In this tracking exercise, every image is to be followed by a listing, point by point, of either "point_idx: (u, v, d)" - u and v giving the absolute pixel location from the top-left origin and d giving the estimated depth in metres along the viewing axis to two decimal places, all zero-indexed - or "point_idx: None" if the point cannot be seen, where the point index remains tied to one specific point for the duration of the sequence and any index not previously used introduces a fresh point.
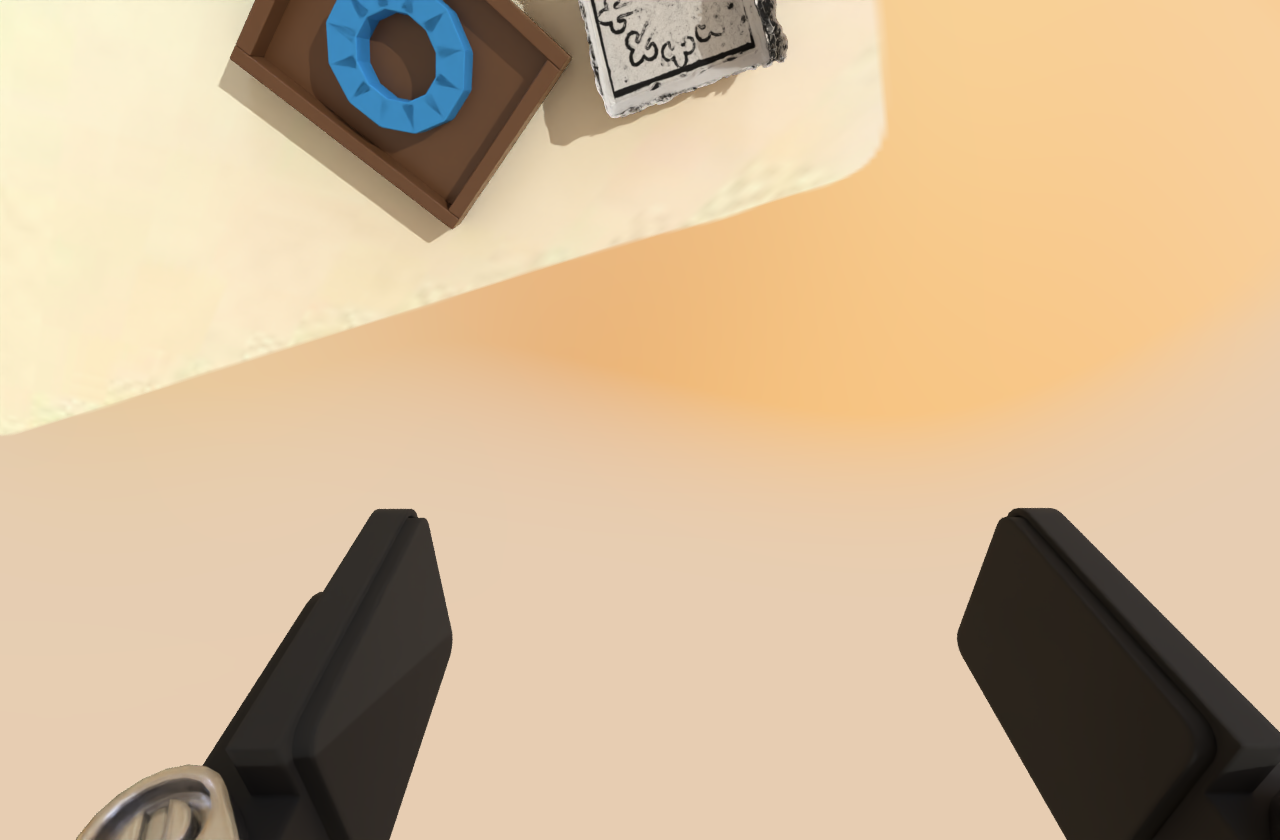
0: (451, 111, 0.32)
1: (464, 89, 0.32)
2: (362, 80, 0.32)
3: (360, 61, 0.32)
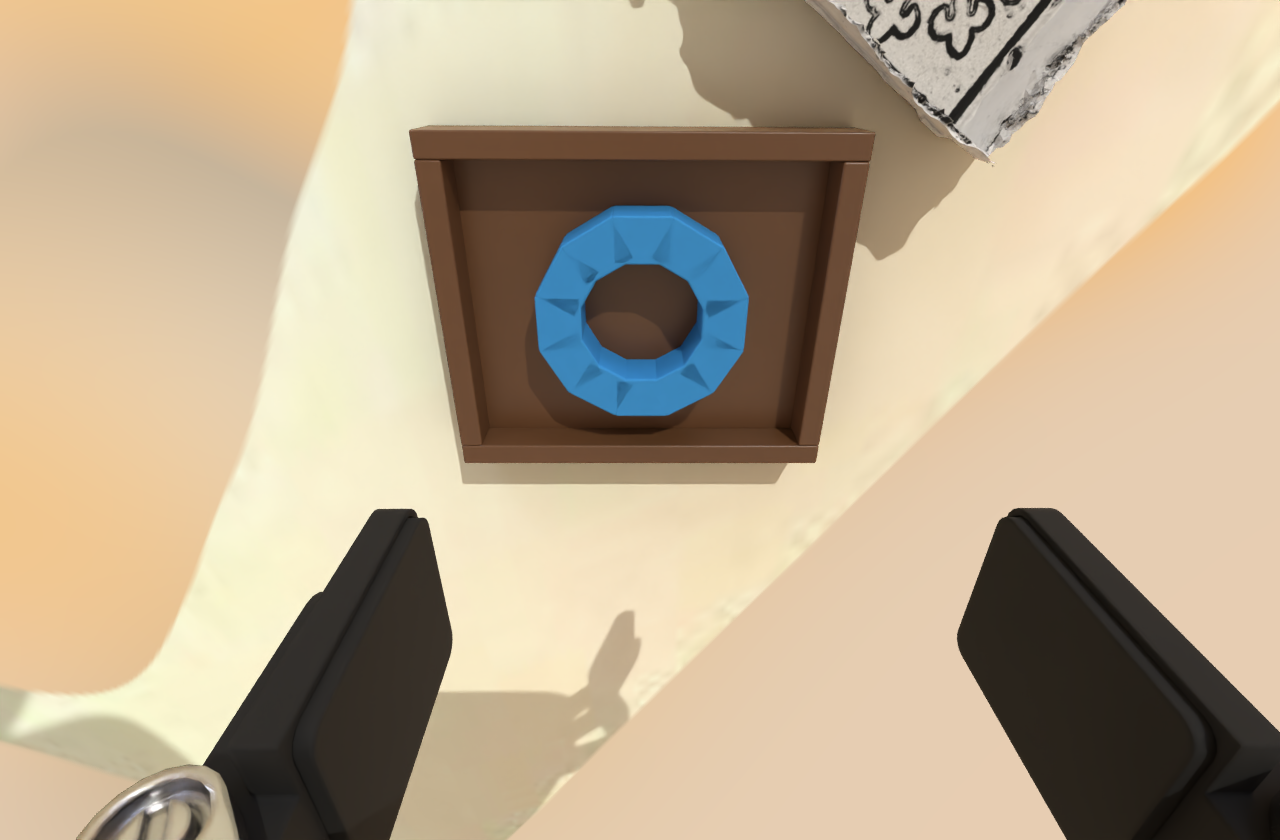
0: (744, 333, 0.20)
1: (747, 294, 0.20)
2: (617, 381, 0.21)
3: (600, 360, 0.21)
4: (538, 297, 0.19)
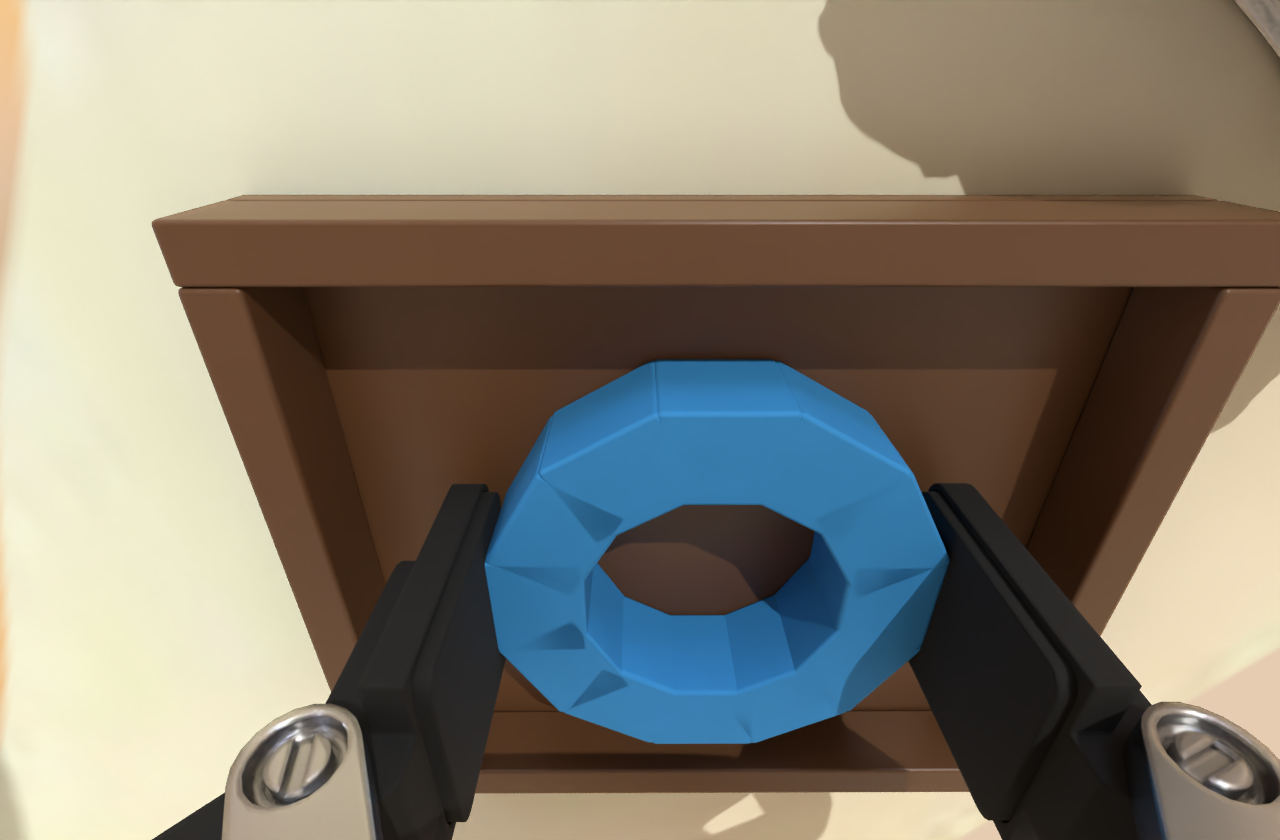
0: None
1: None
2: (658, 696, 0.10)
3: (622, 652, 0.10)
4: (491, 564, 0.09)
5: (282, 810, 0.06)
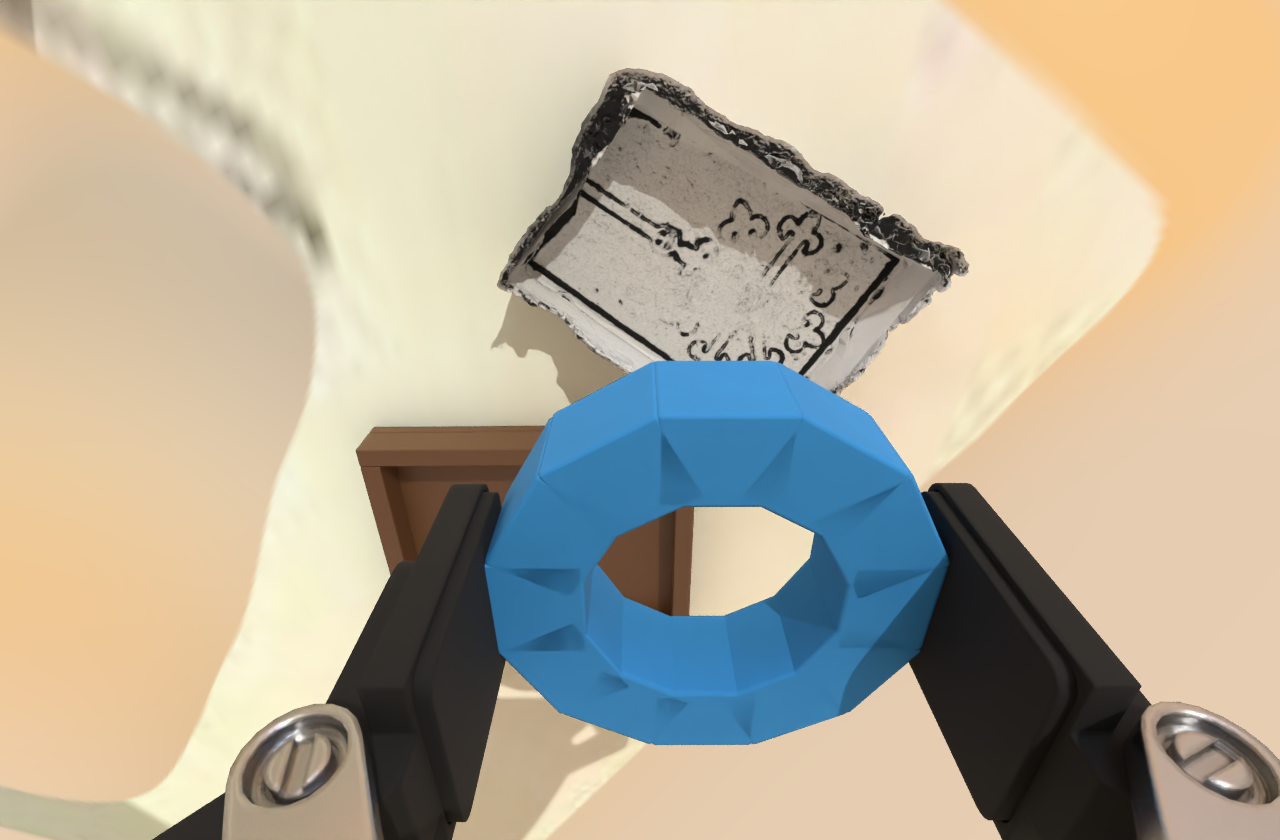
0: None
1: None
2: (657, 698, 0.10)
3: (622, 653, 0.10)
4: (491, 565, 0.09)
5: (281, 808, 0.06)
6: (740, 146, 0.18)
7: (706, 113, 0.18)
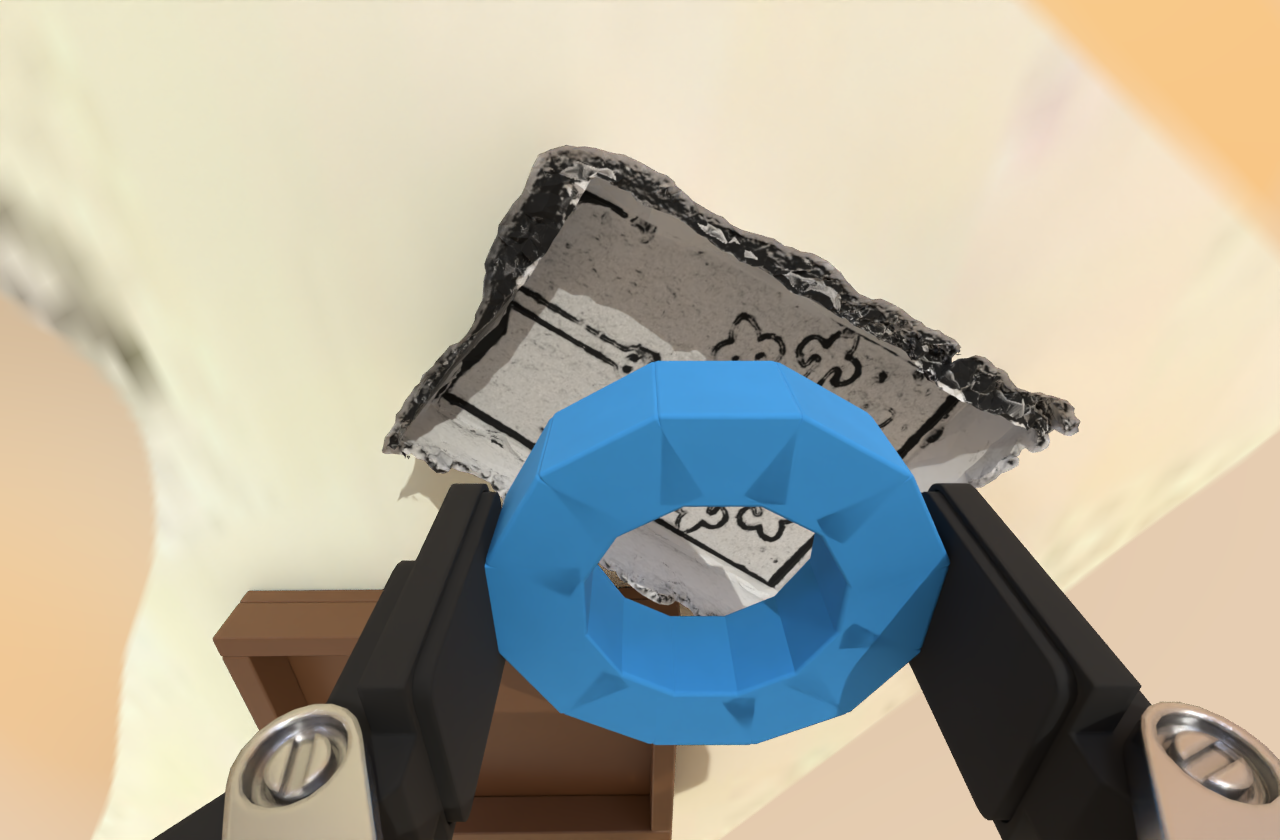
0: None
1: None
2: (658, 698, 0.10)
3: (622, 654, 0.10)
4: (491, 565, 0.09)
5: (281, 809, 0.06)
6: (747, 261, 0.12)
7: (693, 213, 0.11)
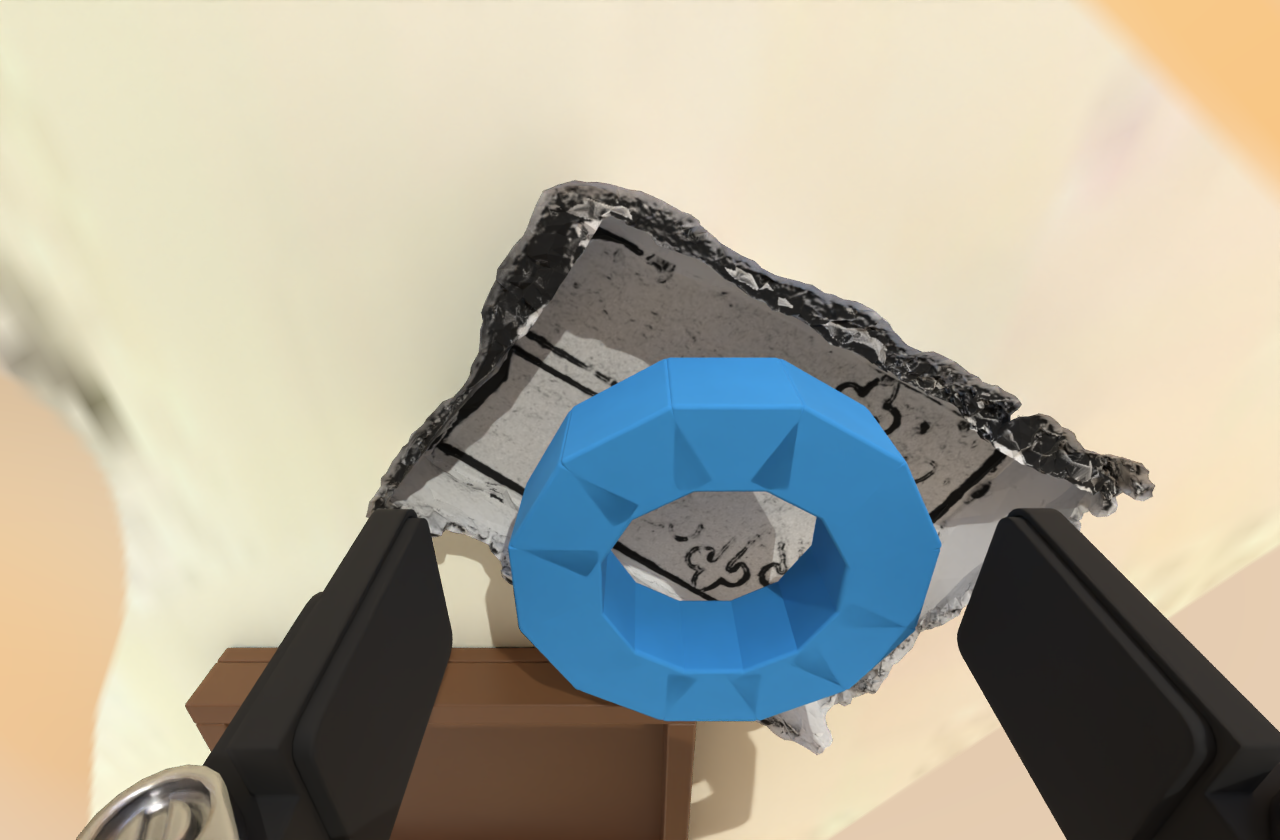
0: None
1: None
2: (668, 675, 0.11)
3: (635, 633, 0.11)
4: (515, 547, 0.10)
5: None
6: (780, 309, 0.10)
7: (719, 255, 0.10)
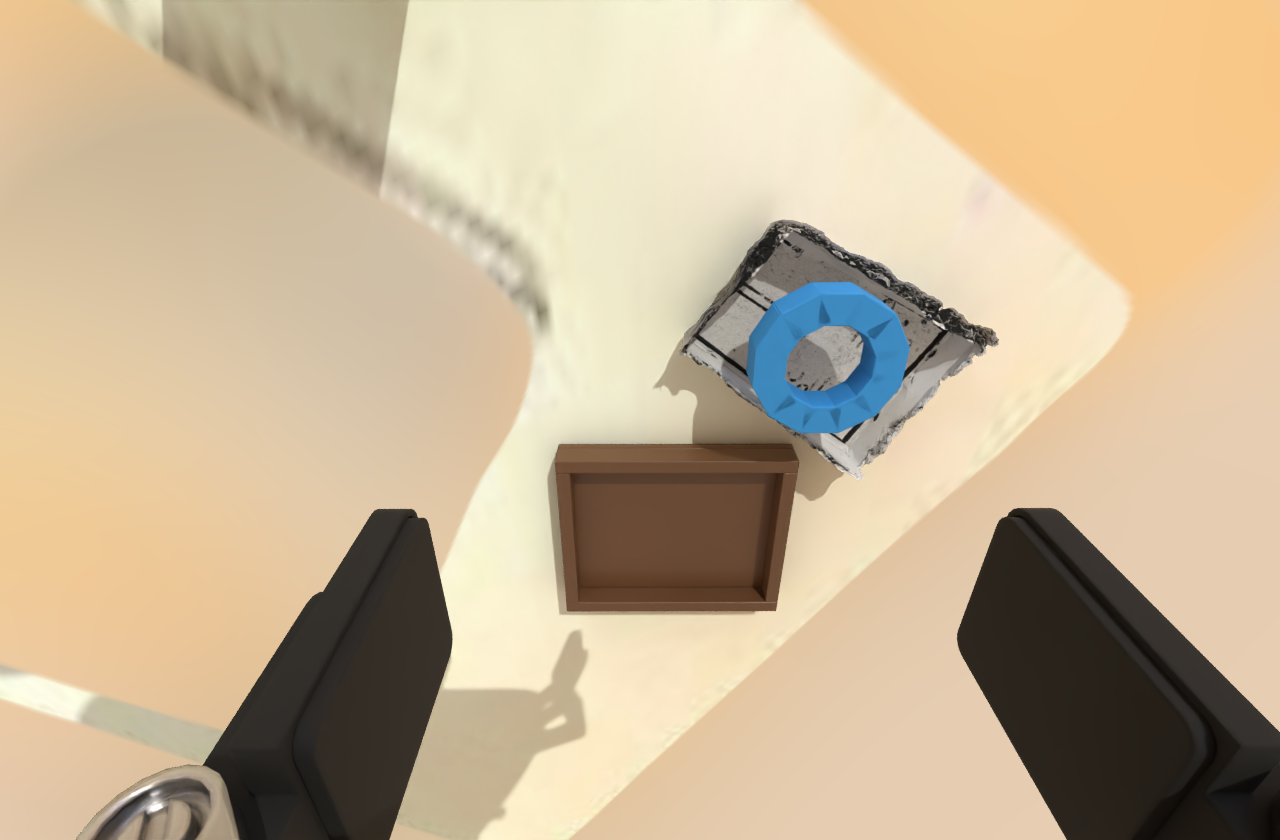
0: (903, 373, 0.28)
1: None
2: (805, 408, 0.28)
3: (792, 393, 0.28)
4: (758, 349, 0.27)
5: None
6: (851, 265, 0.28)
7: (830, 245, 0.27)
